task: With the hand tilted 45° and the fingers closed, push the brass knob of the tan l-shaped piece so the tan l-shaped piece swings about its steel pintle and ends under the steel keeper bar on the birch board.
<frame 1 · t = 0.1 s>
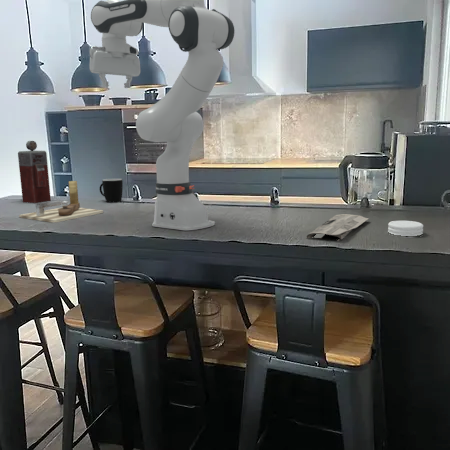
hand: (116, 87, 178), 48 cm above the counter, tool pointing down, fingers open, 8 cm apart
pivot board: (65, 217, 180), on the counter
keeper: (55, 208, 179), on the pivot board, point 4 cm above the counter
newspaper: (340, 231, 152), on the counter
white round disc: (404, 235, 144), on the counter
toy vending machine: (38, 201, 222), on the counter
tan l-shaped piece: (68, 197, 184), point 7 cm above the counter, hinge at 0.0°
mug: (111, 201, 219), on the counter
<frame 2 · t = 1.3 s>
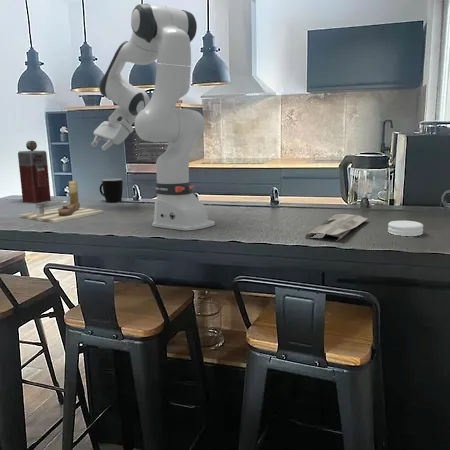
hand: (97, 147, 191), 25 cm above the counter, tool tilted 45°, fingers open, 8 cm apart
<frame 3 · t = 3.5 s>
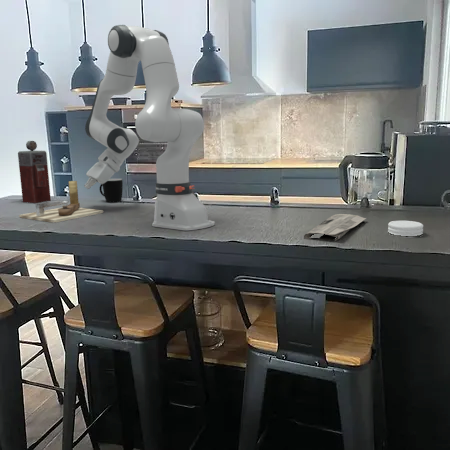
hand: (86, 187, 193), 9 cm above the counter, tool tilted 45°, fingers closed
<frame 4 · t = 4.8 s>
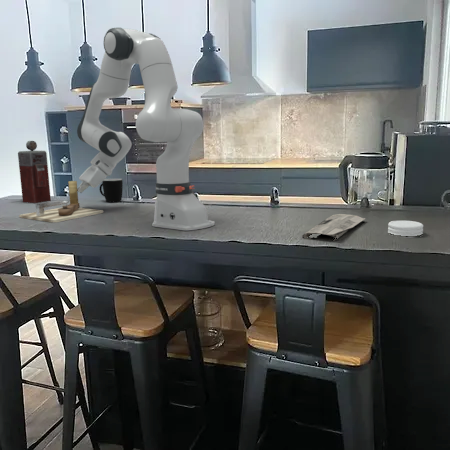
hand: (78, 191, 192), 8 cm above the counter, tool tilted 45°, fingers closed
tan l-shaped piece: (68, 197, 184), point 7 cm above the counter, hinge at 0.4°, touching gripper
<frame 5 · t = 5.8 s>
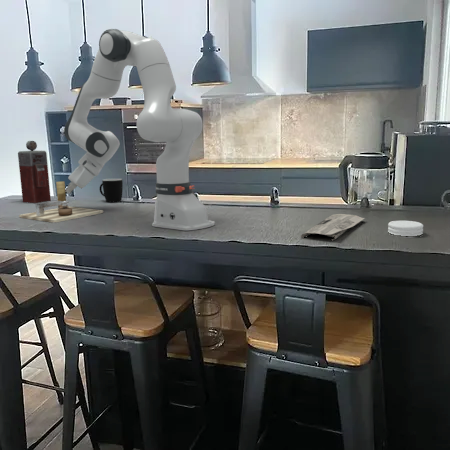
hand: (66, 192, 191), 8 cm above the counter, tool tilted 45°, fingers closed, pressing on tan l-shaped piece
tan l-shaped piece: (62, 197, 184), point 7 cm above the counter, hinge at 22.7°, touching gripper
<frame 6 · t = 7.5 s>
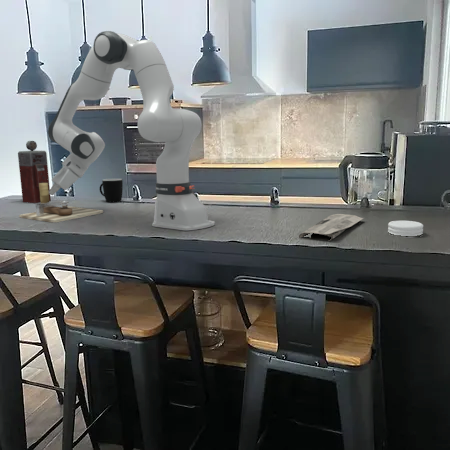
hand: (50, 194, 187), 8 cm above the counter, tool tilted 45°, fingers closed
tan l-shaped piece: (54, 198, 182), point 7 cm above the counter, hinge at 55.0°, touching gripper
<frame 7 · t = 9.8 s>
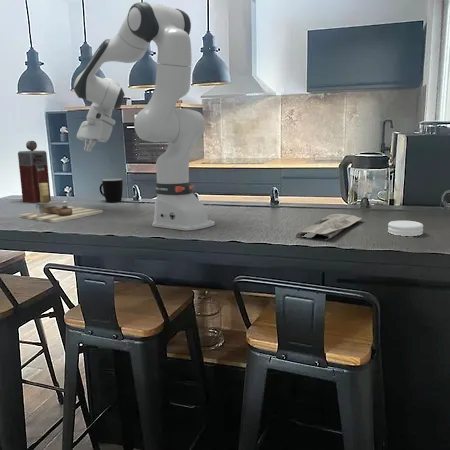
hand: (87, 151, 188), 24 cm above the counter, tool tilted 25°, fingers closed
tan l-shaped piece: (54, 198, 182), point 7 cm above the counter, hinge at 55.0°
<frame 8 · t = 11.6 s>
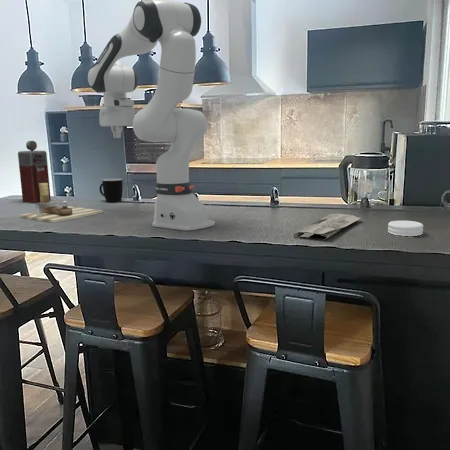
hand: (117, 137, 192), 29 cm above the counter, tool pointing down, fingers closed
at the end: tan l-shaped piece at +55° (first picture: +0°); mug moved 0.2 cm from its start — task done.
